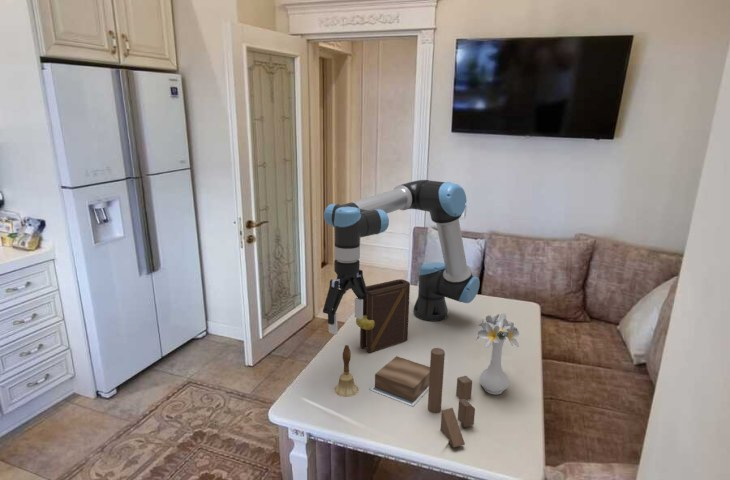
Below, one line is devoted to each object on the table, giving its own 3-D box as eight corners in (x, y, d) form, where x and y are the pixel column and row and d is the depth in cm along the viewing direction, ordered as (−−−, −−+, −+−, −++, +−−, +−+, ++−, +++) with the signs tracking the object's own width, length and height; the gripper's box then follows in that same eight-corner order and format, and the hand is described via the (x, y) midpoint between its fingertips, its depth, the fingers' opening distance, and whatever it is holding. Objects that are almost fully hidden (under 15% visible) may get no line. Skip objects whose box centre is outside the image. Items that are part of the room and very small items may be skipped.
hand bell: (330, 387, 146) (329, 342, 142) (353, 381, 149) (354, 338, 145) (338, 401, 139) (338, 354, 135) (363, 395, 142) (364, 349, 138)
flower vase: (510, 376, 154) (517, 308, 148) (515, 407, 137) (523, 333, 131) (471, 371, 157) (477, 304, 151) (471, 401, 140) (477, 328, 133)
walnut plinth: (395, 368, 156) (396, 356, 155) (432, 381, 149) (433, 368, 148) (374, 387, 145) (375, 373, 144) (413, 402, 138) (413, 388, 136)
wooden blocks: (453, 448, 119) (458, 381, 114) (418, 406, 137) (421, 346, 132) (505, 432, 126) (512, 369, 121) (464, 394, 143) (469, 337, 138)
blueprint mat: (396, 367, 159) (396, 365, 159) (437, 381, 150) (437, 379, 150) (368, 391, 144) (368, 389, 144) (412, 408, 136) (413, 406, 136)
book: (397, 335, 183) (400, 277, 176) (411, 344, 176) (413, 284, 169) (352, 349, 171) (352, 288, 165) (364, 359, 164) (365, 295, 158)
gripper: (359, 248, 145) (358, 309, 150) (310, 267, 125) (310, 336, 130) (379, 252, 141) (377, 314, 146) (331, 272, 121) (331, 343, 126)
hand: (346, 325), depth 138 cm, fingers open, 13 cm apart
